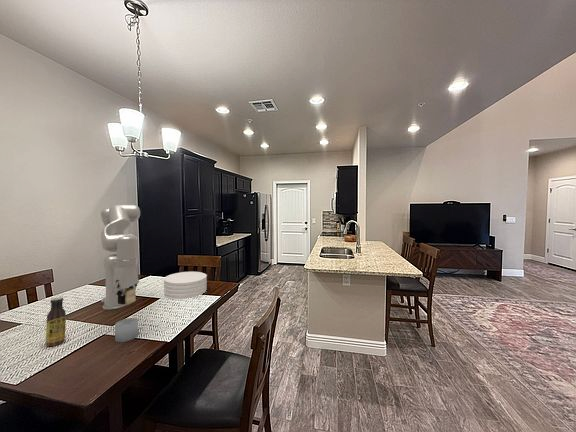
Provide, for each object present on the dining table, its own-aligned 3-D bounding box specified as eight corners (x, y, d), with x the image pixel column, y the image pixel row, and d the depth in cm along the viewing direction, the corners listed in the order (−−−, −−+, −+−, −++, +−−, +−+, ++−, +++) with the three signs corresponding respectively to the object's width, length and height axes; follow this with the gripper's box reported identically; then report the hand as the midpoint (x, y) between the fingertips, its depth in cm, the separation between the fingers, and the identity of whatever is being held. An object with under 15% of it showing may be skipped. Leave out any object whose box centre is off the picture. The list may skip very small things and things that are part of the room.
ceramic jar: (110, 341, 111) (109, 326, 110) (125, 331, 120) (125, 317, 119) (127, 343, 110) (127, 327, 109) (142, 332, 118) (142, 318, 118)
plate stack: (202, 284, 193) (202, 269, 193) (210, 295, 169) (210, 279, 169) (162, 289, 179) (162, 274, 178) (165, 303, 155) (165, 285, 154)
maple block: (117, 304, 112) (117, 291, 112) (126, 300, 117) (126, 287, 116) (127, 305, 111) (127, 291, 111) (135, 300, 116) (135, 288, 116)
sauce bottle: (48, 348, 104) (47, 302, 103) (43, 344, 107) (43, 299, 106) (68, 341, 109) (67, 298, 109) (63, 337, 113) (62, 295, 112)
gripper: (133, 258, 122) (133, 294, 123) (103, 266, 105) (103, 308, 106) (146, 259, 121) (146, 295, 122) (118, 267, 104) (118, 309, 105)
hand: (126, 301), depth 114 cm, fingers closed on maple block, 5 cm apart
